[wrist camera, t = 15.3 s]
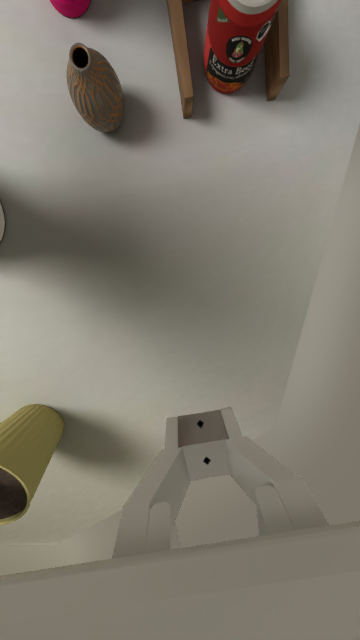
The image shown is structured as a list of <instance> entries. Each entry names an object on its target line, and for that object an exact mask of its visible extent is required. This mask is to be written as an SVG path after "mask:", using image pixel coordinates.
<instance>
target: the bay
mask: <svg viewBox="0 0 360 640" xmlns="http://www.w3.org/2000/svg"><path fill="white" fill-rule="evenodd" d="M192 1H197V0H167V5H168V12H169V19H170V26H171V33H172V40H173V47H174V54H175V61H176V68H177V75H178V82H179V89H180V96H181V103H182V110H183V118H188V117H191V114H192V105H193V97H194V96H193V88H192V80H191V72H190V64H189V56H188V49H187V41H186V33H185V25H184V17H183V9H182V4H183V3H188V2H192ZM264 47H265V70H266V92H267V101H269V100H274V99H275V98H276V96H277V95H278V93H279V91H280V90H281V88H282V86H283V85H284V83H285V82H286V80H287V78H288V77H289V47H288V0H281V2H280V5H279V7H278V10H277V12H276V15H275V17H274V19H273V22H272V24H271V27H270V29H269V32H268V34H267V36H266V39H265V41H264Z"/></svg>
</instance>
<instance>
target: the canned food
mask: <svg viewBox="0 0 360 640" xmlns="http://www.w3.org/2000/svg"><path fill="white" fill-rule="evenodd" d="M280 2H281V0H211V2H210V9H209V17H208V24H207V31H206V39H205V46H204V56H203V59H204V68H205V73H206V77H207V79H208V81H209V83H210V84H211V86H212V87H213V88H214V89H215V90H217V91H218V92H221V93H227V94H228V93H232V92H234V91H237V90H238V89H239V88H241V86H242V85H243V84H244V83H245V82H246V81H247V79H248V78H249V76H250V75H251V73H252V70H253V68H254V65H255V63H256V61H257V58H258V56H259V53H260V51H261V49H262V46H263V44H264V41H265V39H266V36H267V34H268V32H269V29H270V27H271V24H272V22H273V19H274V17H275V15H276V12H277V10H278V7H279V5H280Z"/></svg>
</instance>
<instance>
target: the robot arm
mask: <svg viewBox="0 0 360 640" xmlns="http://www.w3.org/2000/svg"><path fill="white" fill-rule="evenodd" d="M4 227H5V220H4V213H3V209H2V206H1V203H0V241H1V239H2V237H3V233H4ZM224 475H231V477H232V478H233V479H234V480H235V481H236V482H237V484H238V485H239V486H240V487H241V488H242V490H243V491H244V492H245V493H246V494H247V496H248V497H249V498H250V499H251V500H252V502H253V503H254V504H255V505H256V507H257V508H256V509H257V518H258V528H259V536H256V537H249V538H243V539H236V540H229V541H223V542H216V543H210V544H204V545H197V546H191V547H185V548H182V544H181V541H180V537H179V534H178V530H177V527H176V523H175V520H176V517H177V515H178V512H179V510H180V507H181V505H182V502H183V499H184V497H185V494H186V492H187V489H188V487H189V484H190V481H193V480H198V479H203V478H208V477H215V476H224ZM0 640H360V520H359V521H352V522H346V523H340V524H334V525H329V523H328V522H327V520H326V518H325V517H324V515H323V513H322V511H321V510H320V508H319V506H318V505H317V503H316V501H315V499H314V498H313V496H312V494H311V493H310V491H309V489H308V488H307V486H306V484H305V483H304V481H303V479H302V478H301V477H299V476H298V475H297V474H295V473H294V472H293V471H291V470H290V469H289V468H287V467H286V466H285V465H283V464H282V463H281V462H279V461H278V460H277V459H275V458H274V457H273V456H271V455H270V454H269V453H268V452H266V451H265V450H264V449H262V448H261V447H260V446H258V445H257V444H256V443H254V442H253V441H252V440H250V439H249V438H248V437H243V436H242V434H241V431H240V428H239V426H238V423H237V421H236V418H235V416H234V413H233V411H232V409H231V408H230V407H229V408H224V409H220V410H214V411H208V412H203V413H197V414H190V415H183V416H178V417H171V418H167V420H166V435H165V450H162V451H161V452H160V453H159V455H158V456H157V458H156V459H155V461H154V462H153V464H152V465H151V467H150V468H149V470H148V471H147V472H146V474H145V475H144V477H143V478H142V480H141V481H140V483H139V484H138V486H137V487H136V489H135V490H134V492H133V493H132V495H131V496H130V497H129V499H128V500H127V502H126V503H125V505H124V506H123V510H122V515H121V519H120V524H119V528H118V533H117V538H116V542H115V547H114V552H113V556H112V559H107V560H100V561H95V562H87V563H81V564H75V565H69V566H62V567H55V568H48V569H42V570H36V571H29V572H23V573H16V574H9V575H3V576H0Z"/></svg>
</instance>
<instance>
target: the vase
mask: <svg viewBox="0 0 360 640" xmlns="http://www.w3.org/2000/svg"><path fill="white" fill-rule="evenodd" d="M69 57H70V59H69V62H68V65H67V84H68V89H69V92H70V95H71V98H72V101H73V103H74V105H75V107H76V109H77V111H78V112H79V114H80V115H81V116H82V118H83V119H84V120H85V121H86V122H87V123H88V124H89V125H90V126H91V127H93V128H94V129H96V130H98V131H101V132H110V131H113V130H114V129H116V128H117V127H118V126H119V124H120V122H121V120H122V117H123V113H124V98H123V92H122V88H121V85H120V82H119V79H118V77H117V75H116V73H115V71H114V69H113V68H112V66H111V65H110V63H109V62H108V61H107V59H106V58H105V57H104V56H103V55H102V54H100V53H99V52H97V51H96V50H94V49H91V48H87V47H86V46H85V45H83V44H81V43H76V44H74V45H73V46H72V47H71V49H70V53H69Z"/></svg>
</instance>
